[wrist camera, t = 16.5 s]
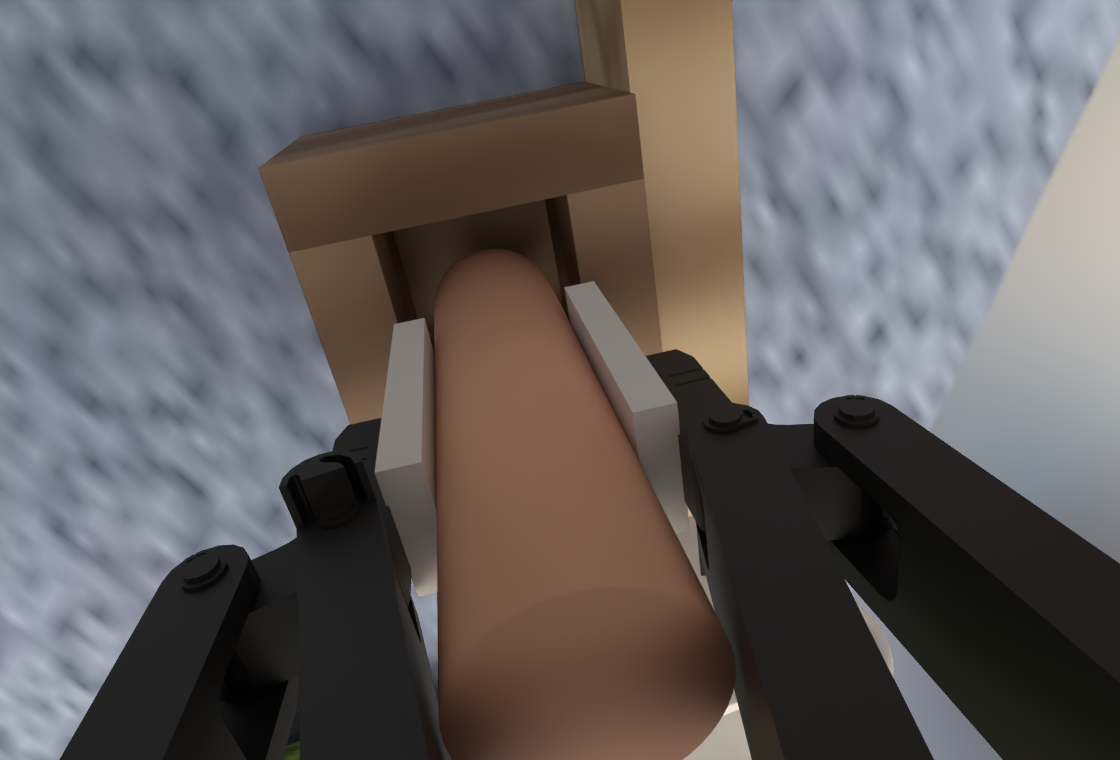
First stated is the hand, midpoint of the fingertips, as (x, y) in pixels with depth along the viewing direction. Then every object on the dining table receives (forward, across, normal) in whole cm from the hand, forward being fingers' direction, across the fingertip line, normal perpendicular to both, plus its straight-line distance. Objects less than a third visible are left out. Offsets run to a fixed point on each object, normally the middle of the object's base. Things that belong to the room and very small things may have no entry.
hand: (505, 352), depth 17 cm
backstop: (+10, +6, 0) cm, 12 cm away
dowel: (+4, 0, 0) cm, 4 cm away
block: (+10, 0, 0) cm, 10 cm away
